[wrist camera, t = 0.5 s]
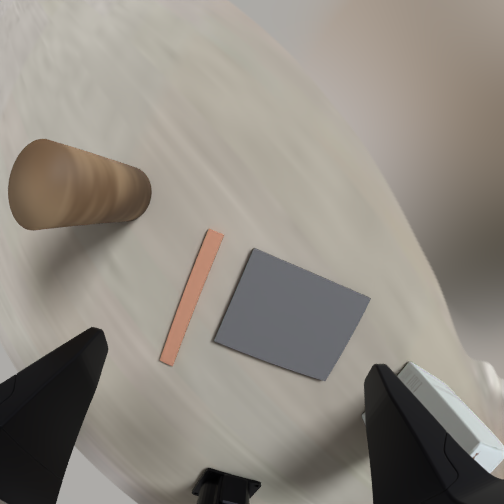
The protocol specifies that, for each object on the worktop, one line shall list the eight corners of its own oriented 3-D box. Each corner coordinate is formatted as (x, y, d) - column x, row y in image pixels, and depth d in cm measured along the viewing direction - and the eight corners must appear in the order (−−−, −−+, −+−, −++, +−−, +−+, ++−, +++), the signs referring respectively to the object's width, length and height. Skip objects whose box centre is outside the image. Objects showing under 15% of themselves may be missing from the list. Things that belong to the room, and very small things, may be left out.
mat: (324, 378, 23) (325, 381, 23) (214, 338, 23) (214, 340, 22) (369, 297, 22) (370, 298, 21) (254, 247, 22) (253, 248, 21)
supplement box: (358, 415, 23) (399, 513, 11) (409, 358, 23) (484, 439, 10) (402, 434, 24) (445, 513, 11) (447, 384, 23) (512, 452, 10)
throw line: (173, 364, 23) (172, 366, 23) (160, 358, 23) (159, 360, 23) (224, 235, 22) (223, 235, 21) (209, 228, 22) (208, 228, 21)
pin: (139, 229, 22) (50, 244, 11) (97, 209, 22) (1, 212, 11) (159, 176, 21) (78, 150, 10) (115, 160, 21) (24, 131, 10)
